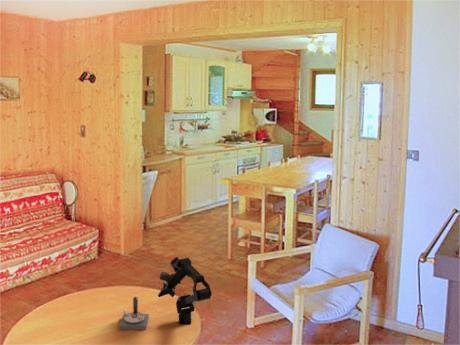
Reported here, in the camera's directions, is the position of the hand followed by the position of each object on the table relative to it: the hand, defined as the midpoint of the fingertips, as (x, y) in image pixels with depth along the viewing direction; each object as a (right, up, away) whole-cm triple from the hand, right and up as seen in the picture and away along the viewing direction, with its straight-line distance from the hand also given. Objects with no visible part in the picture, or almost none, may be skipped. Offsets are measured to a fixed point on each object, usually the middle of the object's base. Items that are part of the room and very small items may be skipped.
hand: (158, 296), depth 280 cm
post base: (-13, -14, -4) cm, 19 cm away
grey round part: (-13, -11, -3) cm, 17 cm away
